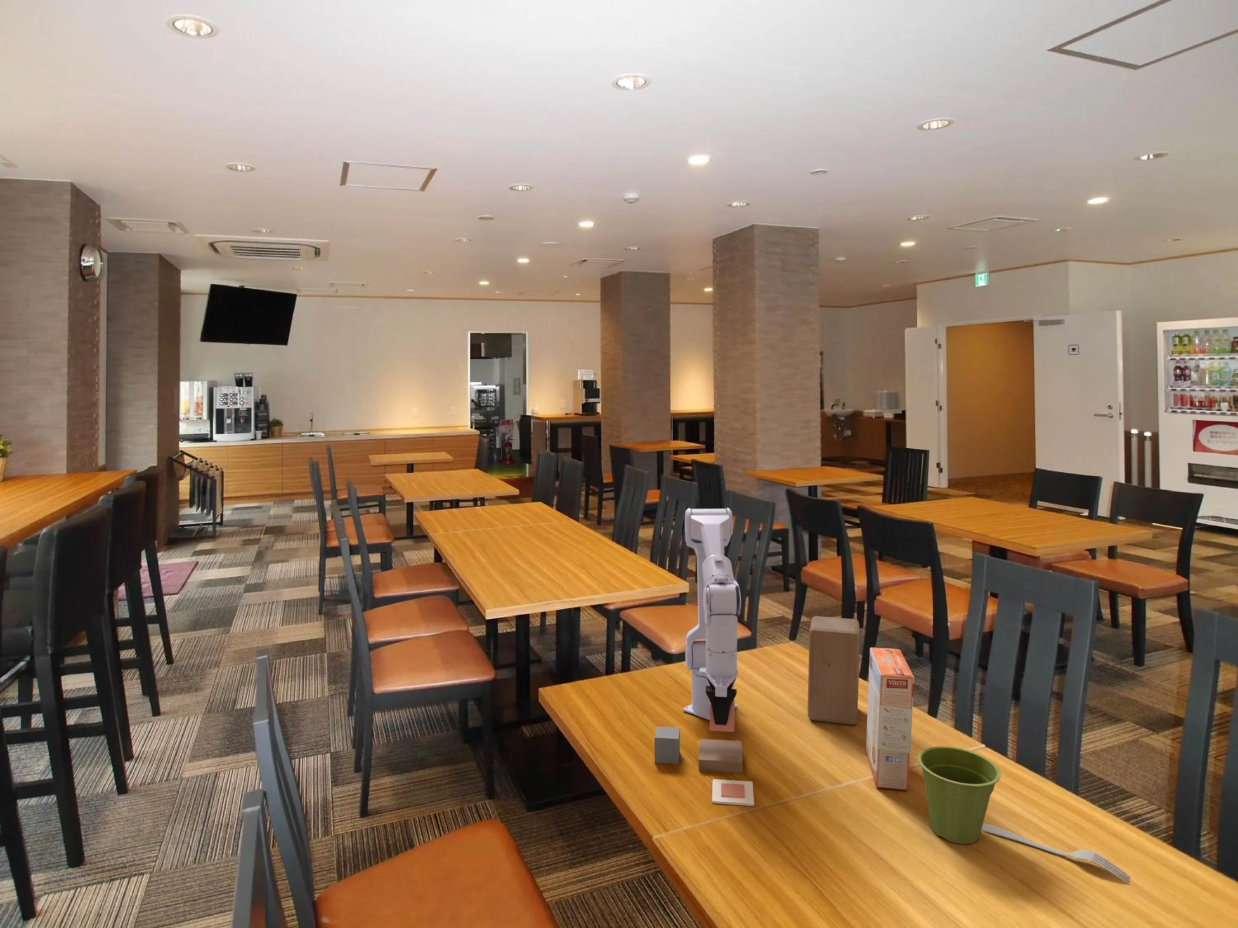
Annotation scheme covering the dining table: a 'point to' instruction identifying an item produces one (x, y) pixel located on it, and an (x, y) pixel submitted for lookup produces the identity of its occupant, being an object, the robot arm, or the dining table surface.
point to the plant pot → (957, 791)
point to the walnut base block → (720, 755)
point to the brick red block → (730, 723)
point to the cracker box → (889, 718)
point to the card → (732, 792)
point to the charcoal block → (667, 745)
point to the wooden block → (833, 670)
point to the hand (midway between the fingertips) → (720, 717)
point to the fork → (1078, 854)
